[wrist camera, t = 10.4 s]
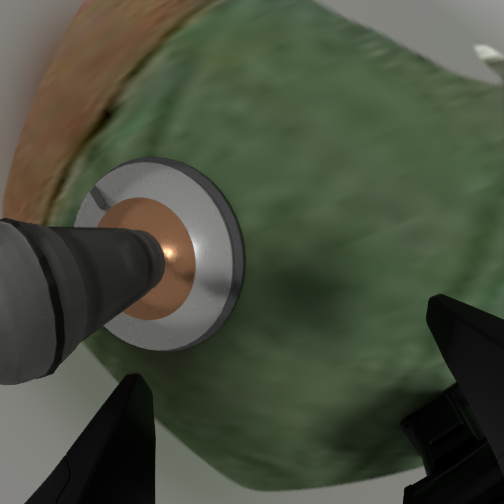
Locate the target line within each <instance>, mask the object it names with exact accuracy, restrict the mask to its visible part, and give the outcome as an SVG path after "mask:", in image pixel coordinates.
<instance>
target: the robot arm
mask: <svg viewBox="0 0 504 504" xmlns="http://www.w3.org/2000/svg"><path fill="white" fill-rule="evenodd" d="M426 322H427V325H428V327H429V329H430V331H431V333H432V335H433V337H434V339H435V341H436V343H437V345H438V348H439V350H440V352H441V354H442V356H443V358H444V360H445V362H446V364H447V366H448V368H449V369H450V371H451V373H452V374H453V376H454V378H455V380H456V381H457V383H458V384H457V385H455V386H454V387H453V388H451V389H450V390H448V391H447V392H446V393H444V394H443V395H441V396H440V397H438V398H437V399H435V400H434V401H432V402H431V403H429V404H428V405H426V406H425V407H423V408H422V409H420V410H418V411H417V412H415V413H414V414H412V415H410V416H409V417H407V418H405V419H404V420H402V422H401V424H400V425H401V428H402V430H403V431H404V432H405V434H406V435H407V437H408V438H409V439H410V441H411V442H412V444H413V445H414V446H415V448H416V449H417V451H418V452H419V453H420V455H421V457H422V461H423V464H424V468H425V471H426V475H427V476H426V477H425V478H423V479H421V480H420V481H418V482H416V483H414V484H413V485H409V486H407V487H405V489H404V497H403V504H504V319H501V318H499V317H497V316H494V315H492V314H489V313H487V312H485V311H482V310H480V309H477V308H475V307H473V306H470V305H468V304H465V303H463V302H460V301H458V300H456V299H453V298H451V297H448V296H446V295H443V294H438V295H435V296H432V297H430V299H429V301H428V308H427V314H426ZM407 423H409V424H407ZM405 424H407V425H405ZM155 445H156V437H155V423H154V409H153V395H152V391H151V389H150V387H149V386H148V384H147V383H146V382H145V380H144V379H143V377H142V376H141V374H139V373H132V374H127V375H126V376H125V377H124V378H123V379H122V381H121V382H120V383H119V385H118V386H117V387H116V388H115V390H114V391H113V393H112V394H111V395H110V396H109V398H108V399H107V400H106V401H105V403H104V404H103V405H102V407H101V408H100V409H99V411H98V412H97V413H96V415H95V416H94V417H93V418H92V420H91V421H90V422H89V424H88V425H87V427H86V428H85V429H84V430H83V432H82V433H81V435H80V436H79V437H78V438H77V440H76V441H75V442H74V444H73V445H72V446H71V448H70V449H69V450H68V452H67V453H66V455H65V456H64V457H63V459H62V460H61V461H60V463H59V464H58V465H57V466H56V468H55V469H54V470H53V471H52V473H51V474H50V475H49V477H48V478H47V479H46V480H45V481H44V482H43V483H42V485H41V486H40V487H39V488H38V489H37V490H36V491H35V492H34V493H33V495H32V496H31V497H30V498H29V499H28V500H27V501H26V502H25V503H24V504H155V448H156V447H155Z"/></svg>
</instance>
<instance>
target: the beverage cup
mask: <svg viewBox="0 0 504 504" xmlns="http://www.w3.org/2000/svg"><path fill="white" fill-rule="evenodd" d="M164 272H165V257H164V252H163V250H162V248H161V246H160V243H159V242H158V241H157V240H156V239H155V237H154V236H153V235H151V234H149V233H148V232H146V231H142V230H132V229H127V228H97V227H45V226H41V225H37V224H32V223H26V222H20V221H16V220H12V219H8V218H3V219H0V384H1V385H16V384H20V383H24V382H27V381H30V380H33V379H38V378H42V377H45V376H48V375H51V374H53V373H54V372H55V370H56V369H57V367H58V366H59V365H60V364H61V363H62V362H63V361H64V360H65V359H66V358H67V357H68V356H69V355H70V354H71V353H72V352H73V351H74V350H75V349H76V347H77V346H78V344H79V343H80V342H82V341H83V340H84V339H86V338H87V337H88V336H90V335H91V334H93V333H94V332H95V331H97V330H98V329H99V328H101V327H102V326H104V325H105V324H106V323H108V322H109V321H110V320H112V319H113V318H115V317H116V316H117V315H119V314H120V313H121V312H123V311H124V310H126V309H127V308H128V307H130V306H131V305H133V304H134V303H135V302H137V301H138V300H140V299H141V298H142V297H144V296H145V295H146V294H147V293H148V292H149V291H150V290H151V289H153V288H155V287H156V286H157V285H158V283H159V282H160V281H161V279H162V277H163V275H164Z"/></svg>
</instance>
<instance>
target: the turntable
mask: <svg viewBox="0 0 504 504" xmlns="http://www.w3.org/2000/svg"><path fill="white" fill-rule="evenodd" d="M74 227H97V228H127V229H132V230H142V231H146V232H148V233H149V234H151V235H153V236H154V237H155V239H156V240H157V241H158V242H159V243H160V246H161V248H162V250H163V252H164V257H165V272H164V275H163V277H162V279H161V281H160V282H159V283H158V285H157V286H156V287H155V288H153V289H151V290H150V291H149V292H148V293H147V294H146V295H145V296H144V297H142V298H141V299H140V300H138V301H137V302H135V303H134V304H133V305H131V306H130V307H128V308H127V309H126V310H124V311H123V312H121V313H120V314H119V315H117V316H116V317H115V318H113V319H112V320H110V321H109V322H108V323H106V324H105V325H104V327H106V328H107V329H108V330H109V331H110V332H111V333H113V334H114V335H116V336H117V337H118V338H120V339H122V340H124V341H125V342H127V343H129V344H132V345H134V346H137V347H140V348H145V349H150V350H170V349H175V348H179V347H182V346H185V345H187V344H189V343H191V342H193V341H195V340H196V339H198V338H199V337H200V336H202V335H203V334H204V333H205V332H206V331H207V330H208V329H209V328H210V327H211V326H212V325H213V324H214V323H215V322H216V320H217V319H218V318H219V316H220V315H221V313H222V312H223V310H224V308H225V306H226V304H227V302H228V300H229V297H230V293H231V290H232V287H233V281H234V275H235V253H234V245H233V240H232V235H231V232H230V229H229V226H228V223H227V220H226V218H225V216H224V214H223V212H222V210H221V208H220V207H219V205H218V204H217V202H216V201H215V199H214V198H213V197H212V195H211V194H210V193H209V192H208V191H207V190H206V189H205V187H204V186H202V185H201V184H200V183H199V182H198V181H197V180H195V179H194V178H193V177H191V176H189V175H188V174H186V173H185V172H183V171H180V170H178V169H176V168H173V167H170V166H166V165H162V164H158V163H149V162H142V163H133V164H129V165H125V166H122V167H120V168H117V169H115V170H113V171H112V172H110V173H108V174H107V175H105V176H104V177H103V178H102V179H100V180H99V181H98V182H97V183H96V184H95V185H94V186H93V188H92V189H91V190H90V191H89V193H88V194H87V196H86V197H85V199H84V201H83V203H82V204H81V207H80V209H79V211H78V214H77V217H76V220H75V224H74Z"/></svg>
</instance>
